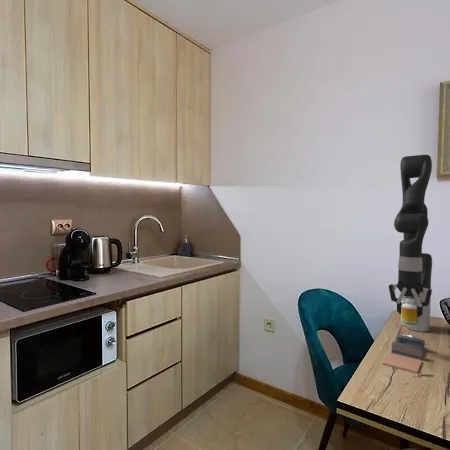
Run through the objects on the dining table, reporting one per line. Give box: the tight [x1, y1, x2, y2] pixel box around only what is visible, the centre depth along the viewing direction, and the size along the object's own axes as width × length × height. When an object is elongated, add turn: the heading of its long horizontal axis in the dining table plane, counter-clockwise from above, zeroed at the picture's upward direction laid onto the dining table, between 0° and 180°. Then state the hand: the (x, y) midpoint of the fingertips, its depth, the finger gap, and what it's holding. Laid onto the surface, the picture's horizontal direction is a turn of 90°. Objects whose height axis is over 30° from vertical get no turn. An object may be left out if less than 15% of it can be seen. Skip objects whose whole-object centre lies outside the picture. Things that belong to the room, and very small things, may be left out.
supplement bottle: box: [400, 296, 418, 327], centre depth 117 cm, size 5×5×10 cm
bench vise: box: [391, 333, 426, 360], centre depth 120 cm, size 18×9×4 cm, turn 142°
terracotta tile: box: [382, 352, 423, 374], centre depth 108 cm, size 10×10×1 cm
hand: (409, 314), depth 118 cm, fingers closed on supplement bottle, 5 cm apart
